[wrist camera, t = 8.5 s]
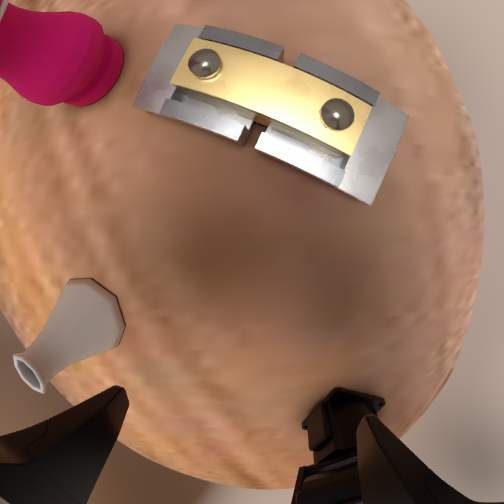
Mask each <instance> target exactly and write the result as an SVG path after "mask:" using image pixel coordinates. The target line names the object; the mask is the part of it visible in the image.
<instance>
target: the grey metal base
mask: <svg viewBox="0 0 504 504" xmlns="http://www.w3.org/2000/svg"><path fill="white" fill-rule="evenodd" d="M194 38H198V39H203V40H207V41H211V42H216V43H220V44H223V45H227V46H231V47H234V48H238V49H241V50H245V51H248V52H251V53H254V54H257V55H260V56H263V57H266V58H269V59H272V60H275V61H277V62H280V63H283V55H284V47H283V46H280V45H277V44H274V43H272V42H269V41H265V40H262V39H259V38H256V37H252V36H249V35H245V34H242V33H238V32H234V31H230V30H226V29H222V28H217V27H213V26H208V25H205V27H204V28H199V27H193V26H187V25H181V24H175V26H174V27H173V29H172V30H171V32H170V34H169V35H168V37H167V39H166V40H165V42H164V44H163V46H162V47H161V49H160V51H159V53H158V54H157V56H156V58H155V60H154V62H153V64H152V66H151V68H150V70H149V71H148V73H147V75H146V77H145V80H144V82H143V84H142V86H141V88H140V90H139V92H138V94H137V97H136V99H135V101H134V103H133V107H136V108H138V109H141V110H143V111H146V112H149V113H152V114H155V115H158V116H162V117H165V118H168V119H171V120H174V121H177V122H180V123H183V124H186V125H189V126H192V127H195V128H198V129H200V130H203V131H206V132H209V133H211V134H214V135H217V136H219V137H222V138H225V139H227V140H230V141H232V142H235V143H237V144H240V145H242V146H244V144H245V142H246V140H247V137H248V135H249V133H250V131H251V129H252V127H253V124H254V122H255V121H252V120H250V119H247V118H245V117H242V116H239V115H237V114H234V113H231V112H229V111H226V110H223V109H220V108H217V107H214V106H212V105H209V104H206V103H203V102H199V101H196V100H193V99H190V98H188V97H187V96H185V95H184V94H183V93H182V92H180V91H179V90H178V89H177V88H175V87H174V86H173V85H171V84H170V81H171V79H172V77H173V75H174V73H175V71H176V69H177V67H178V65H179V63H180V61H181V60H182V58H183V56H184V54H185V52H186V51H187V49H188V47H189V45H190V44H191V42H192V40H193V39H194ZM294 68H295V69H298V70H300V71H303V72H305V73H307V74H310V75H312V76H314V77H316V78H318V79H321V80H323V81H325V82H327V83H329V84H331V85H333V86H335V87H337V88H339V89H341V90H343V91H345V92H347V93H349V94H351V95H352V96H354V97H356V98H358V99H360V100H362V101H363V102H365V103H367V104H368V105H370V106H372V109H371V111H370V114H369V116H368V118H367V121H366V123H365V125H364V128H363V130H362V132H361V135H360V137H359V139H358V141H357V144H356V146H355V148H354V150H353V153H352V155H351V156H348V157H343V158H337V159H335V158H333V157H331V156H329V155H327V154H325V153H323V152H321V151H319V150H317V149H315V148H313V147H311V146H309V145H307V144H305V143H303V142H301V141H299V140H296V139H294V138H292V137H290V136H288V135H285V134H283V133H281V132H279V131H276V130H274V129H272V128H269V127H268V128H267V130H266V132H262V133H261V135H260V137H259V139H258V142H257V144H256V146H255V149H256V150H257V152H259V153H261V154H264V155H266V156H268V157H271V158H273V159H275V160H277V161H279V162H282V163H284V164H286V165H288V166H290V167H293V168H295V169H297V170H299V171H301V172H303V173H305V174H307V175H309V176H311V177H313V178H315V179H317V180H319V181H321V182H323V183H325V184H327V185H329V186H331V187H333V188H335V189H337V190H339V191H341V192H343V193H344V194H346V195H348V196H350V197H352V198H354V199H356V200H357V201H359V202H362V203H365V204H367V205H370V206H371V204H372V202H373V200H374V198H375V196H376V194H377V192H378V189H379V187H380V185H381V183H382V181H383V178H384V176H385V174H386V172H387V169H388V167H389V165H390V162H391V160H392V158H393V155H394V153H395V150H396V148H397V145H398V143H399V140H400V138H401V135H402V133H403V130H404V128H405V125H406V122H407V120H408V117H409V116H408V115H407V114H405V113H404V112H402V111H401V110H399V109H398V108H396V107H395V106H393V105H392V104H390V103H388V102H387V101H385V100H384V99H382V98H380V97H379V94H380V92H378V91H376V90H375V89H373V88H371V87H369V86H368V85H366V84H364V83H362V82H361V81H359V80H357V79H355V78H353V77H351V76H349V75H347V74H345V73H343V72H341V71H339V70H337V69H335V68H333V67H331V66H329V65H327V64H325V63H323V62H320V61H318V60H316V59H313V58H311V57H309V56H306V55H304V54H301V53H300V55H299V57H298V59H297V61H296V63H295V65H294Z"/></svg>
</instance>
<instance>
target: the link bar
mask: <svg viewBox="0 0 504 504" xmlns="http://www.w3.org/2000/svg"><path fill="white" fill-rule="evenodd" d="M170 84H171V85H173V86H174V87H175V88H177V89H178V90H179V91H180V92H182V93H183V94H184V95H185V96H187V97H188V98H190V99H193V100H196V101H199V102H203V103H206V104H209V105H212V106H214V107H217V108H220V109H223V110H226V111H229V112H231V113H234V114H237V115H239V116H242V117H245V118H247V119H250V120H252V121H255V122H257V123H260V124H262V125H265V126H267V127H269V128H272V129H274V130H276V131H279V132H281V133H283V134H285V135H288V136H290V137H292V138H294V139H296V140H299V141H301V142H303V143H305V144H307V145H309V146H311V147H313V148H315V149H317V150H319V151H321V152H323V153H325V154H327V155H329V156H331V157H333V158H335V159H337V158H343V157H348V156H351V155H352V153H353V150H354V148H355V146H356V144H357V141H358V139H359V137H360V135H361V132H362V130H363V128H364V125H365V123H366V121H367V118H368V116H369V114H370V111H371V109H372V106H370V105H368V104H367V103H365V102H363V101H362V100H360V99H358V98H356V97H354V96H352V95H351V94H349V93H347V92H345V91H343V90H341V89H339V88H337V87H335V86H333V85H331V84H329V83H327V82H325V81H323V80H321V79H318V78H316V77H314V76H312V75H310V74H307V73H305V72H303V71H300V70H298V69H295V68H293V67H290V66H288V65H285V64H283V63H280V62H277V61H275V60H272V59H269V58H266V57H263V56H260V55H257V54H254V53H251V52H248V51H245V50H241V49H238V48H234V47H231V46H227V45H223V44H220V43H216V42H211V41H207V40H203V39H198V38H194V39H193V40H192V42H191V44H190V45H189V47H188V49H187V51H186V52H185V54H184V56H183V58H182V60H181V61H180V63H179V65H178V67H177V69H176V71H175V73H174V75H173V77H172V79H171V81H170Z"/></svg>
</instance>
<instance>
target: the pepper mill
mask: <svg viewBox="0 0 504 504" xmlns="http://www.w3.org/2000/svg"><path fill="white" fill-rule="evenodd" d="M8 1H9V0H0V78H2V79H3V80H5V81H6V82H7V83H8V84H9V85H10V86H11V87H12V88H13V89H14V90H15V91H16V92H17V93H19V94H20V95H21V96H22V97H24V98H25V99H27V100H28V101H31V102H33V103H36V104H40V105H44V106H53V105H56V104H59V103H61V102H64V103H68V104H72V105H76V106H86V105H90V104H92V103H94V102H96V101H98V100H99V99H100V98H101V97H103V96H104V95H105V94H106V93H107V92H108V91H109V90H110V88H111V87H112V86H113V85H114V84H115V82H116V80H117V78H118V76H119V74H120V71H121V68H122V66H123V51H122V48H121V46H120V45H119V44H118V43H117V42H116V41H115V40H113V39H112V38H110V37H109V36H107V35H105V34H104V32H103V29H102V26H101V25H100V24H99V22H98V21H96V20H95V19H93V18H91V17H89V16H87V15H85V14H82V13H77V12H71V11H69V12H37V11H29V10H26V9H22V8H18V7H16V6H14V5H12V4H10V3H8Z"/></svg>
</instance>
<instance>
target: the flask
mask: <svg viewBox="0 0 504 504" xmlns="http://www.w3.org/2000/svg"><path fill="white" fill-rule="evenodd" d="M124 328H125V325H124V322H123V319H122V316H121V313H120V310H119V306H118V303H117V300H116V297H115V296H113V295H112V294H110V293H109V292H108V291H106V290H105V289H104V288H102V287H101V286H99V285H98V284H97V283H95V282H94V281H93V280H91V279H72V280H69V281H68V282H67V284H66V286H65V287H64V289H63V291H62V293H61V295H60V297H59V299H58V301H57V303H56V305H55V307H54V309H53V310H52V312H51V314H50V316H49V318H48V320H47V322H46V324H45V326H44V328H43V330H42V331H41V332H40V334H39V335H38V336H37V338H36V339H35V341H34V342H33V343H32V345H31V346H30V347H28V348H27V349H26V350H25V351H24V352H23V353H15V354H14V355H13V358H14V365H15V367H16V369H17V370H18V373H19V374H20V376H21V378H22V379H23V380H24V381H25V382H26V383H27V384H28V385H29V386H30V387H31V388H32V389H34V390H35V391H38V392H40V393H42V394H44V393H45V391H46V384H47V383H48V382H49V381H50V380H51V379H52V378H53V377H54V375H56V374H57V373H59V372H60V371H62V370H63V369H65V368H66V367H68V366H69V365H71V364H74V363H76V362H79V361H81V360H84V359H86V358H89V357H91V356H94V355H97V354H99V353H102V352H105V351H108V350H111V349H113V348H115V347H118V345H119V342H120V339H121V336H122V334H123V331H124Z"/></svg>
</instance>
